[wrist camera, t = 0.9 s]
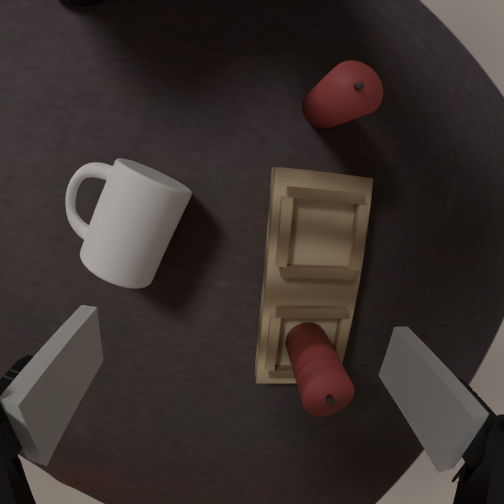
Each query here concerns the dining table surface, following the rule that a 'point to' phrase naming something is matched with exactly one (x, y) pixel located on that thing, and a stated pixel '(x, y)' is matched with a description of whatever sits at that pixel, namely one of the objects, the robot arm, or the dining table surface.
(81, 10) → the dining table surface
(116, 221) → the mug
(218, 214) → the dining table surface
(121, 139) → the dining table surface
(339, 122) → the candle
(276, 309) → the oak candlestand
